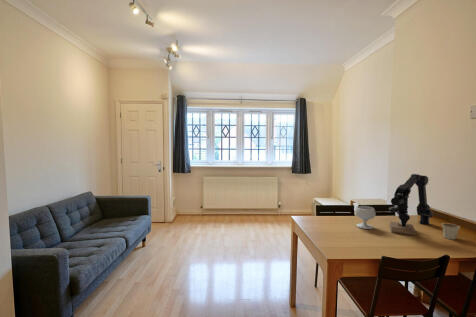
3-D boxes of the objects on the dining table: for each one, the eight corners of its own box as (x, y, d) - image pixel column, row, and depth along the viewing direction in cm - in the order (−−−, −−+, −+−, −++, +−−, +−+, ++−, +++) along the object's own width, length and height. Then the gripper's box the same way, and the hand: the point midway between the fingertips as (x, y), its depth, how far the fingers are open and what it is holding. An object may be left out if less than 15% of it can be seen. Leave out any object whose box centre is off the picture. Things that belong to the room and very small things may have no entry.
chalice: (370, 223, 192) (370, 205, 191) (378, 230, 178) (379, 210, 177) (352, 223, 194) (352, 205, 193) (359, 229, 180) (359, 210, 179)
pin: (399, 228, 179) (399, 216, 178) (404, 229, 177) (404, 217, 177) (399, 229, 176) (400, 217, 175) (405, 230, 174) (405, 218, 174)
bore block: (389, 226, 186) (389, 221, 186) (411, 229, 180) (412, 224, 179) (391, 232, 174) (391, 227, 174) (415, 235, 167) (415, 230, 167)
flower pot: (454, 235, 167) (454, 223, 166) (462, 241, 157) (463, 228, 157) (438, 234, 169) (438, 222, 168) (445, 239, 160) (446, 227, 159)
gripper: (388, 199, 187) (388, 219, 188) (390, 205, 171) (390, 227, 172) (406, 201, 182) (405, 221, 183) (410, 207, 166) (409, 229, 167)
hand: (402, 224), depth 176 cm, fingers open, 9 cm apart
